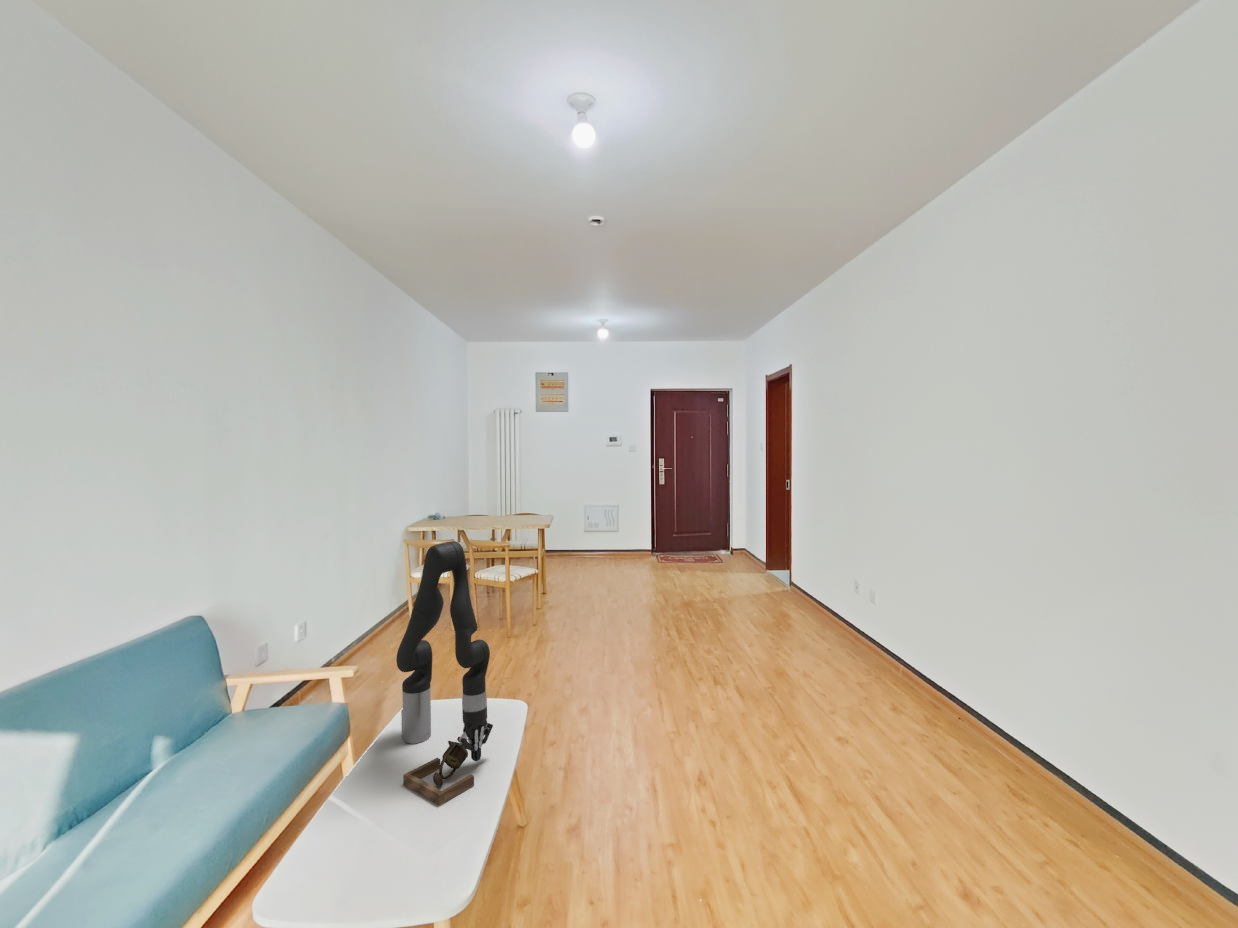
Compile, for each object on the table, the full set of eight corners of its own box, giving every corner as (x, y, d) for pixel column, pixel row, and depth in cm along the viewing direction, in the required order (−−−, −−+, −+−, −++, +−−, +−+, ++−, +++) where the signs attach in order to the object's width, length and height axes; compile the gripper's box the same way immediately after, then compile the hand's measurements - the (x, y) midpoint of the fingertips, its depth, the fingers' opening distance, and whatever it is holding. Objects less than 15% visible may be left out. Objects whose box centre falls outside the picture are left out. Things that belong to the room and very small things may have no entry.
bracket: (403, 784, 174) (403, 774, 174) (437, 766, 183) (437, 757, 183) (440, 805, 163) (439, 794, 163) (474, 785, 173) (473, 775, 173)
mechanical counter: (472, 767, 182) (471, 735, 182) (455, 791, 170) (453, 757, 169) (450, 766, 184) (449, 734, 183) (431, 790, 171) (430, 756, 171)
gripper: (482, 695, 191) (484, 747, 192) (449, 710, 180) (451, 765, 181) (498, 700, 187) (500, 754, 187) (465, 716, 176) (467, 773, 176)
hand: (476, 759), depth 184 cm, fingers closed
